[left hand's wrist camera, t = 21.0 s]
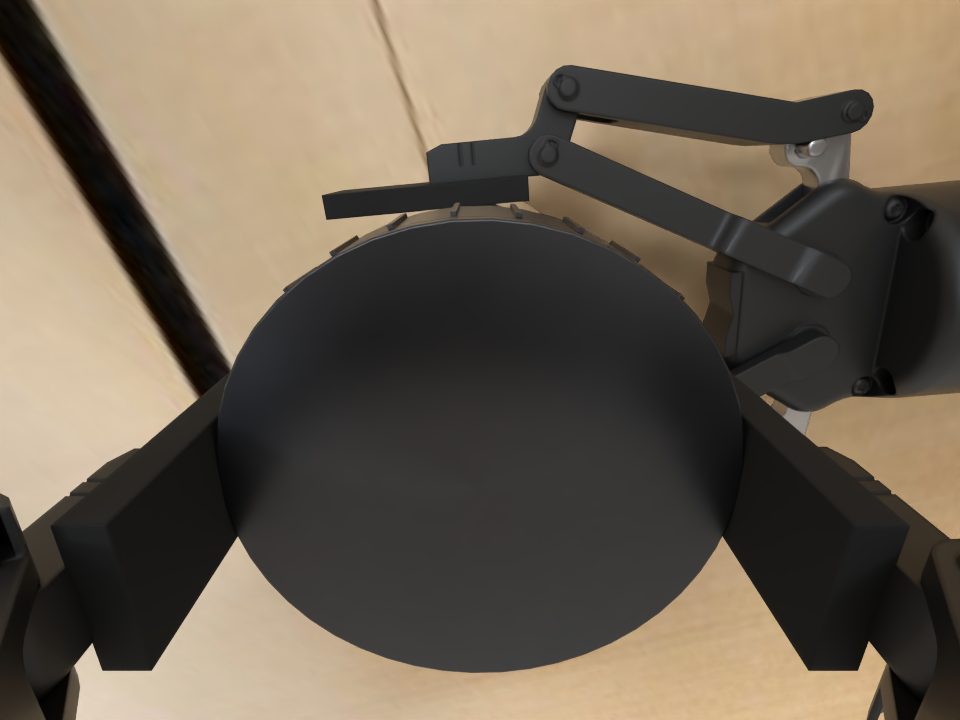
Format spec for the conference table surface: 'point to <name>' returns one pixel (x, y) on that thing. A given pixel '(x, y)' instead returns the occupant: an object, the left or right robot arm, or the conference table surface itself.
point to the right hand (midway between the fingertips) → (360, 339)
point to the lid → (480, 441)
